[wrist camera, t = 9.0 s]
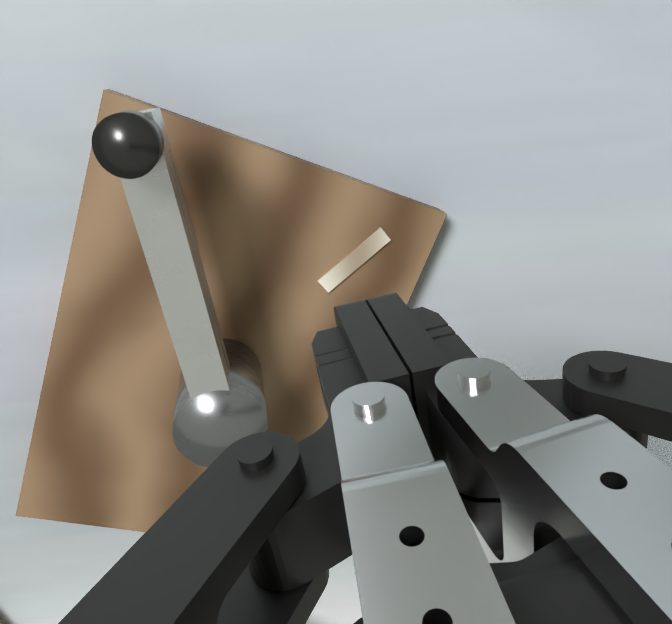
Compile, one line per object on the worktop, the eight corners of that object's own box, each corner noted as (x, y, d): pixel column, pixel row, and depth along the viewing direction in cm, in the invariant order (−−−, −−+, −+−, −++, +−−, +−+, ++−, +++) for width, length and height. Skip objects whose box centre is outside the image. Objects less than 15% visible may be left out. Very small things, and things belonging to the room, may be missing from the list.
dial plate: (438, 208, 34) (448, 214, 32) (295, 536, 43) (298, 553, 41) (109, 89, 28) (102, 90, 26) (23, 499, 37) (14, 517, 35)
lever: (268, 397, 35) (279, 480, 28) (192, 414, 35) (183, 503, 27) (194, 95, 27) (183, 102, 20) (94, 111, 27) (46, 125, 19)
